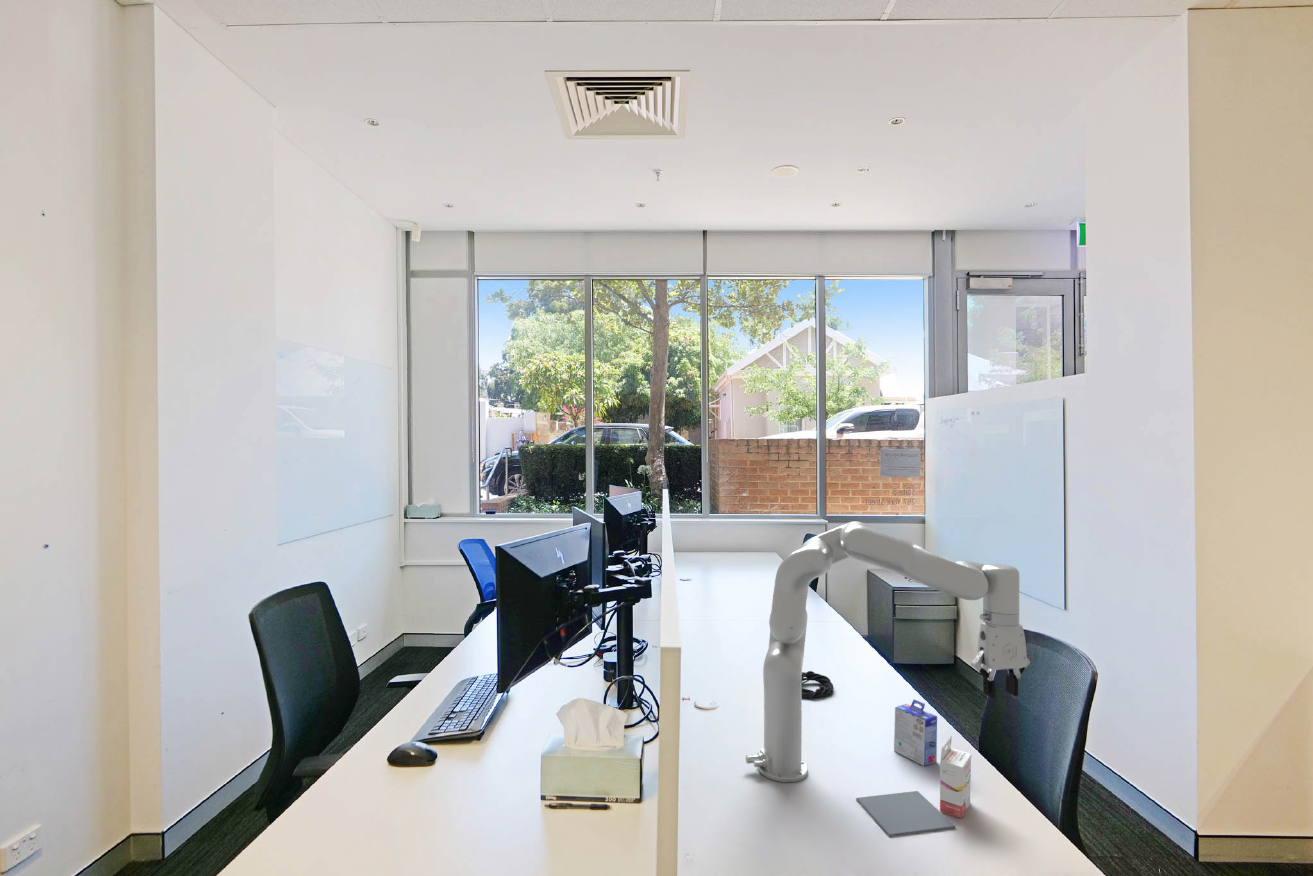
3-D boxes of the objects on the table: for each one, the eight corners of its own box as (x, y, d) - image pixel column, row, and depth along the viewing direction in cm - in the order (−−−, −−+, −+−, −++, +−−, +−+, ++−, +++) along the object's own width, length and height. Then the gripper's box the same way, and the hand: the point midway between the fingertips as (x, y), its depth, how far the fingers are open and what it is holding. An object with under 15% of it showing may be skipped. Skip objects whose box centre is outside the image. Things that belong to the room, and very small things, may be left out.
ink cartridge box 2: (962, 820, 142) (963, 754, 142) (939, 811, 145) (939, 747, 145) (971, 803, 149) (972, 740, 149) (949, 795, 152) (949, 734, 152)
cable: (819, 680, 225) (819, 667, 225) (845, 694, 212) (846, 681, 212) (778, 687, 218) (779, 674, 218) (804, 703, 205) (804, 689, 205)
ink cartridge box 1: (938, 762, 167) (938, 707, 167) (925, 767, 164) (925, 712, 164) (906, 746, 176) (906, 694, 176) (893, 751, 173) (893, 698, 173)
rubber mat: (889, 836, 136) (889, 834, 136) (856, 799, 149) (856, 797, 149) (955, 828, 139) (955, 826, 139) (917, 793, 153) (917, 790, 153)
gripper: (979, 624, 144) (979, 704, 144) (1044, 620, 147) (1044, 698, 147) (958, 615, 151) (957, 691, 151) (1020, 611, 154) (1020, 686, 154)
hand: (1000, 694), depth 149 cm, fingers open, 5 cm apart
